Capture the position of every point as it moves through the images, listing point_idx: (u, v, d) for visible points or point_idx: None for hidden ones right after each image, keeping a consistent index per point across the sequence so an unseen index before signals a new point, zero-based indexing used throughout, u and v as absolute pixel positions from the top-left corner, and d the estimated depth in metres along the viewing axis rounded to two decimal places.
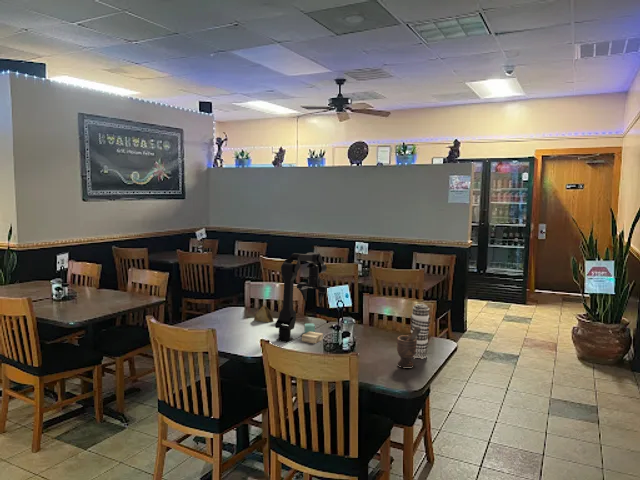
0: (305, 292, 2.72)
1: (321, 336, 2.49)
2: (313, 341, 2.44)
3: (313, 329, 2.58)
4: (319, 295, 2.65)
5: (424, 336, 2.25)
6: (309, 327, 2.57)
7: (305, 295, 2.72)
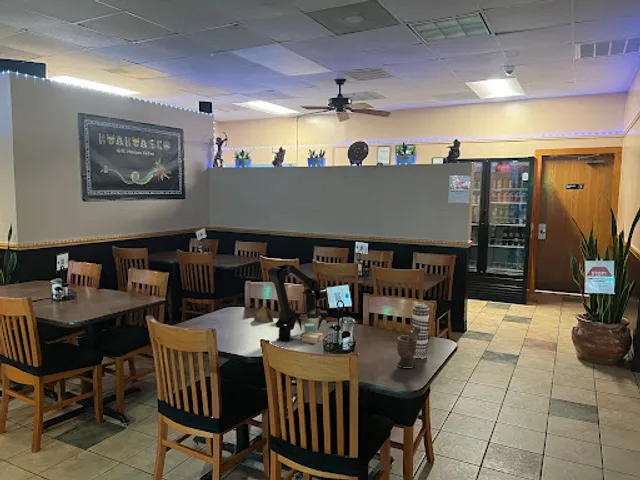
0: (318, 320, 2.60)
1: (321, 336, 2.49)
2: (313, 341, 2.44)
3: (313, 329, 2.58)
4: None
5: (424, 336, 2.25)
6: (309, 327, 2.57)
7: (318, 323, 2.60)
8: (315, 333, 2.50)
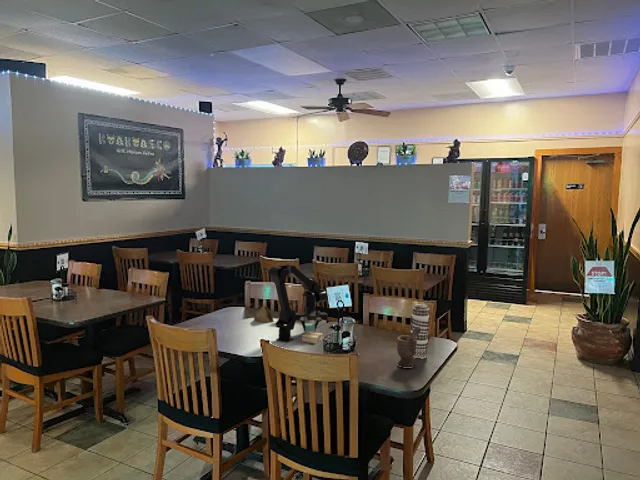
0: (315, 322, 2.60)
1: (321, 336, 2.49)
2: (314, 341, 2.44)
3: (313, 329, 2.58)
4: None
5: (424, 336, 2.25)
6: (309, 327, 2.57)
7: None
8: (315, 333, 2.50)
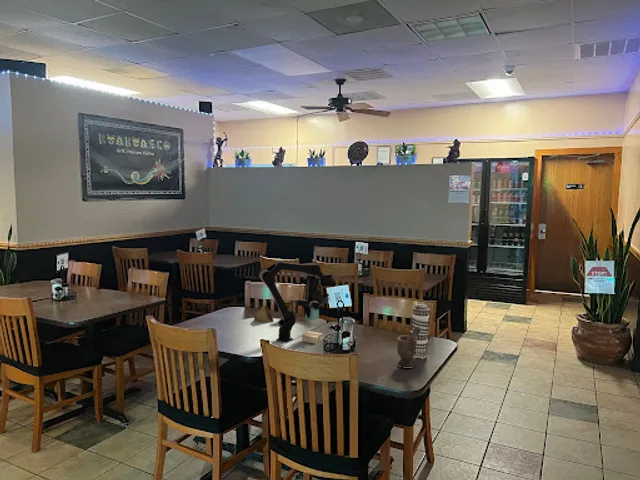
0: (315, 306, 2.53)
1: (321, 336, 2.49)
2: (314, 341, 2.44)
3: (317, 313, 2.51)
4: None
5: (424, 336, 2.25)
6: (315, 311, 2.49)
7: None
8: (315, 333, 2.50)
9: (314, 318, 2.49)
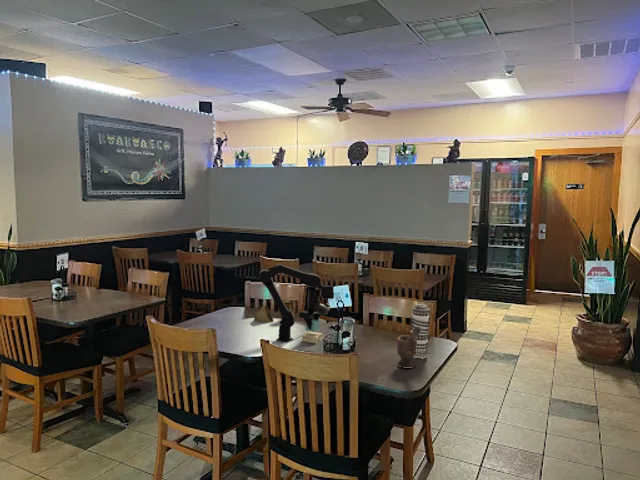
0: (315, 317, 2.50)
1: (321, 336, 2.49)
2: (314, 341, 2.44)
3: (318, 324, 2.48)
4: None
5: (424, 336, 2.25)
6: (316, 323, 2.46)
7: None
8: (315, 333, 2.50)
9: (315, 329, 2.46)
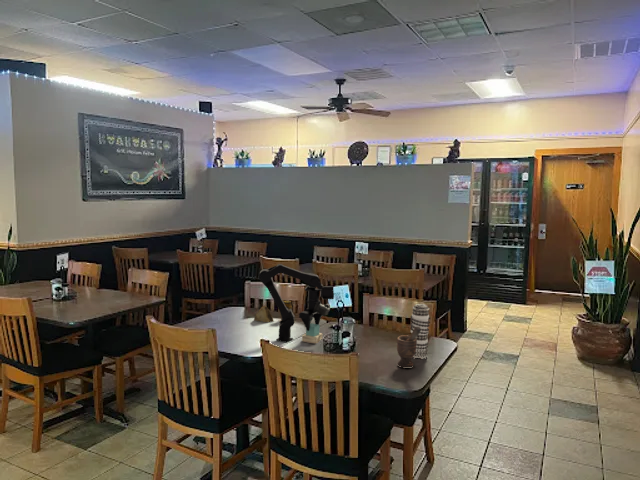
0: (317, 317, 2.52)
1: (321, 336, 2.49)
2: (314, 341, 2.44)
3: (318, 328, 2.48)
4: None
5: (424, 336, 2.26)
6: (316, 327, 2.46)
7: (316, 320, 2.52)
8: None
9: (315, 334, 2.46)
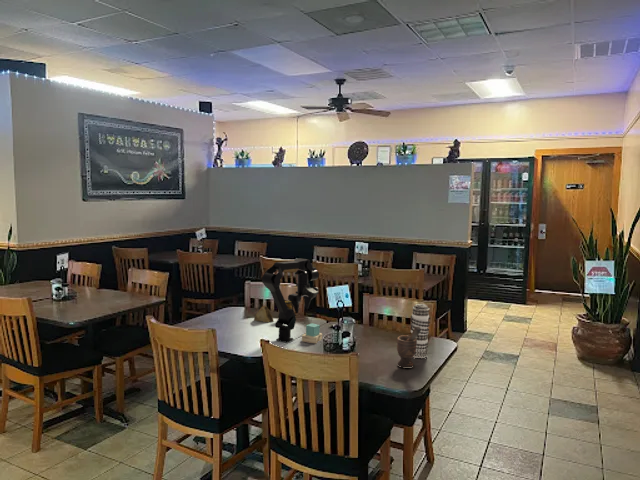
0: (307, 300, 2.60)
1: (321, 336, 2.50)
2: (314, 341, 2.44)
3: (318, 328, 2.48)
4: None
5: (424, 336, 2.26)
6: (316, 327, 2.46)
7: (306, 303, 2.61)
8: None
9: (315, 334, 2.46)
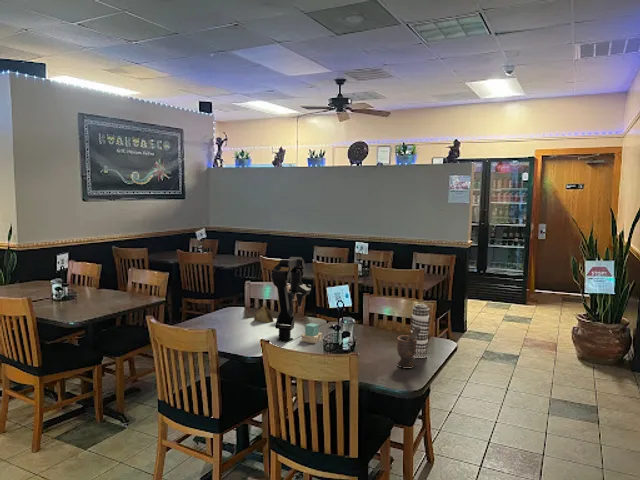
0: (299, 297, 2.66)
1: (320, 336, 2.50)
2: (314, 341, 2.44)
3: (317, 328, 2.48)
4: None
5: (424, 336, 2.25)
6: (315, 327, 2.46)
7: (299, 300, 2.66)
8: None
9: (315, 334, 2.46)
